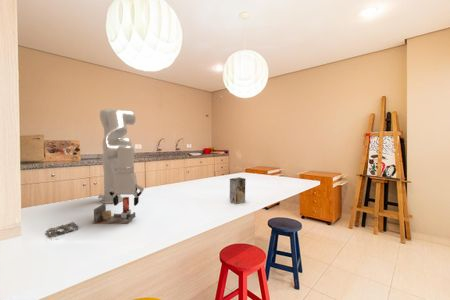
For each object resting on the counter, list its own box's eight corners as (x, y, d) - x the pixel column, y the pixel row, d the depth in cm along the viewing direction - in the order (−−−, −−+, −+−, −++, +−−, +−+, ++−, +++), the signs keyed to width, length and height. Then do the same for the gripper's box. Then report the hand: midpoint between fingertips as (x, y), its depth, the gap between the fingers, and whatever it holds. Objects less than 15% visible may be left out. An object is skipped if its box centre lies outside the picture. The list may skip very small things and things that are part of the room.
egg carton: (49, 242, 86) (49, 232, 86) (44, 237, 91) (44, 227, 90) (80, 233, 94) (79, 224, 94) (74, 228, 99) (73, 220, 99)
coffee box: (238, 199, 150) (239, 177, 149) (245, 201, 145) (245, 178, 144) (229, 201, 144) (229, 178, 143) (235, 204, 139) (236, 180, 138)
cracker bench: (91, 226, 101) (91, 210, 100) (102, 218, 111) (102, 203, 110) (128, 226, 101) (127, 210, 101) (136, 218, 111) (135, 203, 111)
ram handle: (120, 221, 103) (120, 199, 103) (125, 217, 109) (125, 196, 108) (126, 221, 104) (126, 199, 103) (131, 217, 109) (131, 196, 108)
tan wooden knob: (100, 221, 104) (100, 213, 103) (104, 218, 108) (104, 210, 107) (108, 221, 104) (108, 213, 104) (112, 218, 108) (112, 210, 108)
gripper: (103, 171, 100) (104, 207, 101) (140, 172, 101) (141, 207, 102) (111, 169, 108) (112, 202, 109) (146, 169, 109) (146, 202, 110)
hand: (126, 204), depth 106 cm, fingers open, 9 cm apart
